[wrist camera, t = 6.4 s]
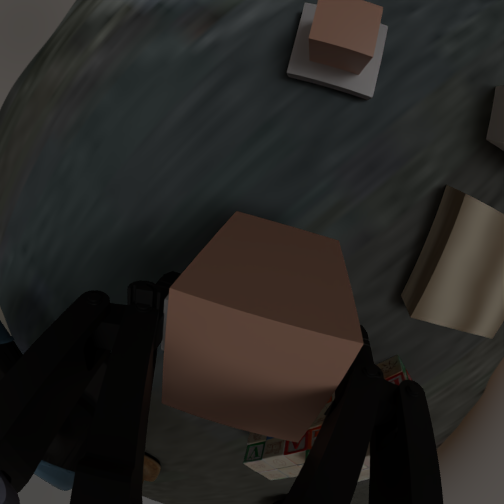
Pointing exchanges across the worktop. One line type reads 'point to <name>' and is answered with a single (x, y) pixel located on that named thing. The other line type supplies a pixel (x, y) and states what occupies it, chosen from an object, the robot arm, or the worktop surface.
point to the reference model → (339, 46)
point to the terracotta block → (260, 328)
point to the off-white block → (497, 119)
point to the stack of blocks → (306, 438)
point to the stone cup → (150, 469)
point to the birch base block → (460, 268)
